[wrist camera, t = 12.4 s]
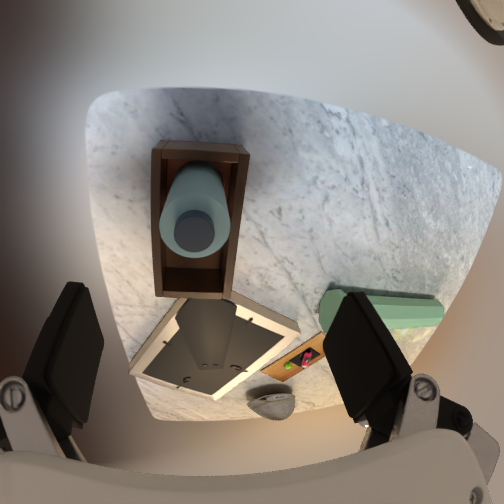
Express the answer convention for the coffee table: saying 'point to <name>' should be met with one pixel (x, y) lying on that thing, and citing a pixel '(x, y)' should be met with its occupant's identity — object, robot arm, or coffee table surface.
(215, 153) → the holder
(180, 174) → the bottle
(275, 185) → the coffee table surface
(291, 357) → the board
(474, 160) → the coffee table surface
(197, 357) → the picture frame
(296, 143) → the coffee table surface
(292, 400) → the seashell
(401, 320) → the container
